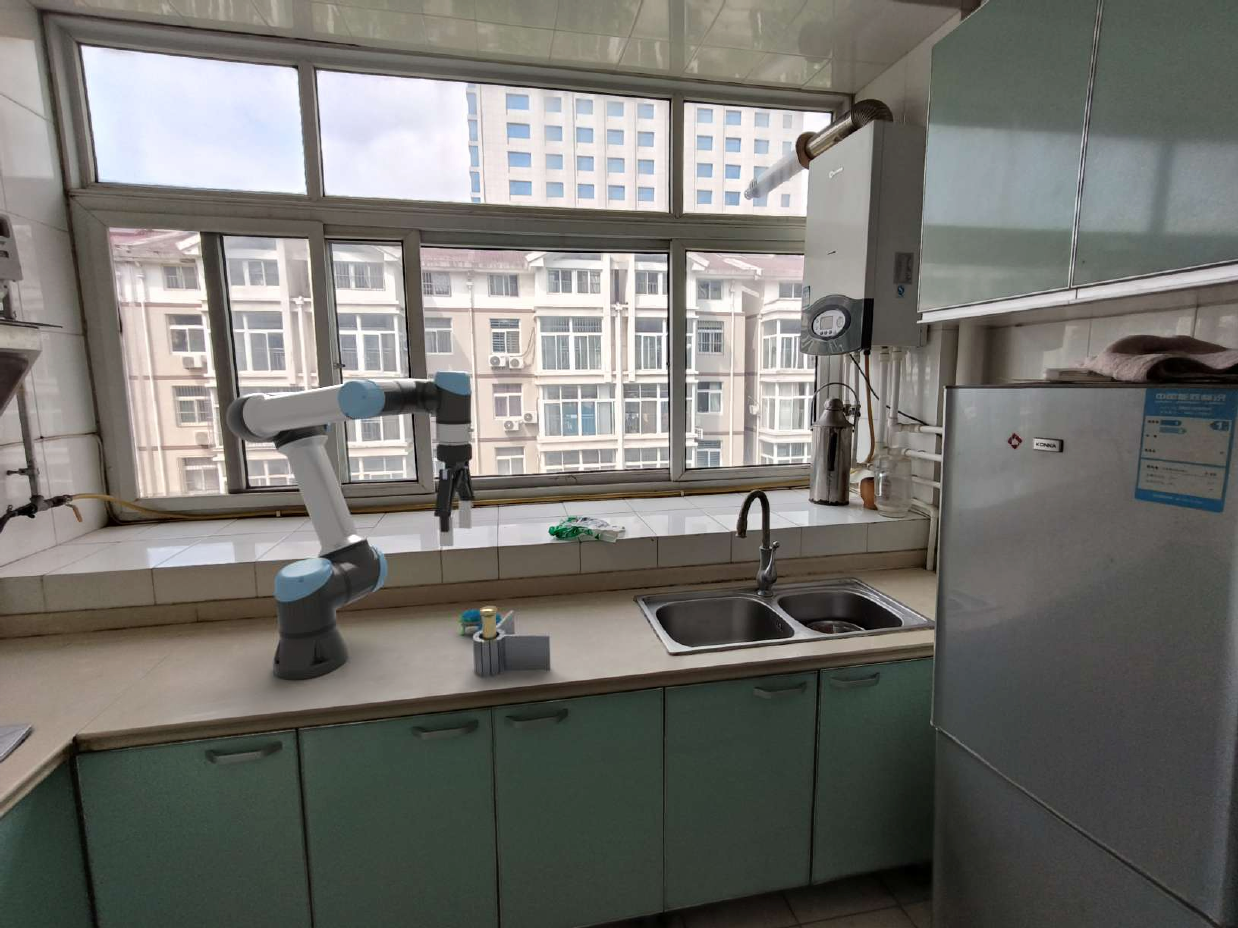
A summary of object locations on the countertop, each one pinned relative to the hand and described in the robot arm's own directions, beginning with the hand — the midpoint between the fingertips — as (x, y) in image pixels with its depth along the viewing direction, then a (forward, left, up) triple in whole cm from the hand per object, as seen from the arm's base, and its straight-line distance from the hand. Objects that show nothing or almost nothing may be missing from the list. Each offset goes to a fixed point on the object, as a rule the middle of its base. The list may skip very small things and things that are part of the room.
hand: (456, 536), depth 129 cm
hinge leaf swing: (+9, +5, -30) cm, 31 cm away
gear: (0, +15, -30) cm, 34 cm away
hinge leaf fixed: (+12, -4, -30) cm, 32 cm away
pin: (+7, -4, -30) cm, 31 cm away
